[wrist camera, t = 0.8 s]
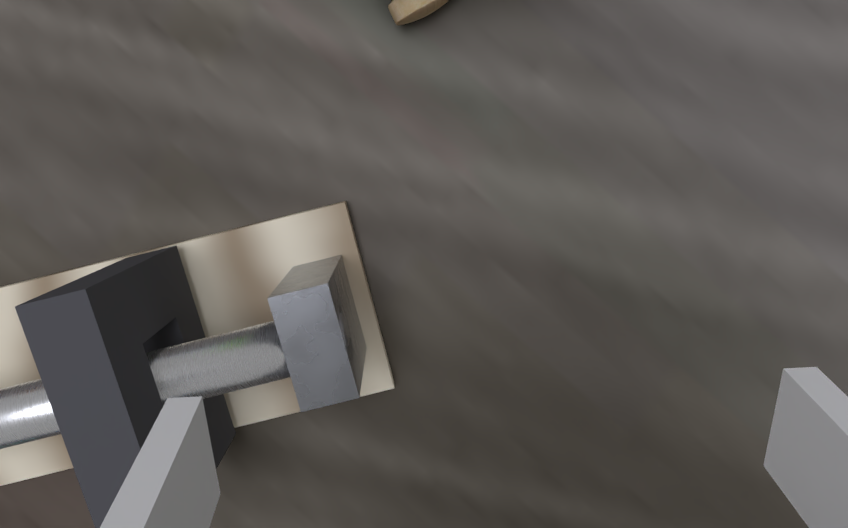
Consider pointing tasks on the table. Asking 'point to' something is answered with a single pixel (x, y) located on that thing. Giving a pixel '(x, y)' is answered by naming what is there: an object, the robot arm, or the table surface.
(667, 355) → the table surface
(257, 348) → the pipe
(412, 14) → the toy lion
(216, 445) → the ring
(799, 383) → the robot arm
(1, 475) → the board
